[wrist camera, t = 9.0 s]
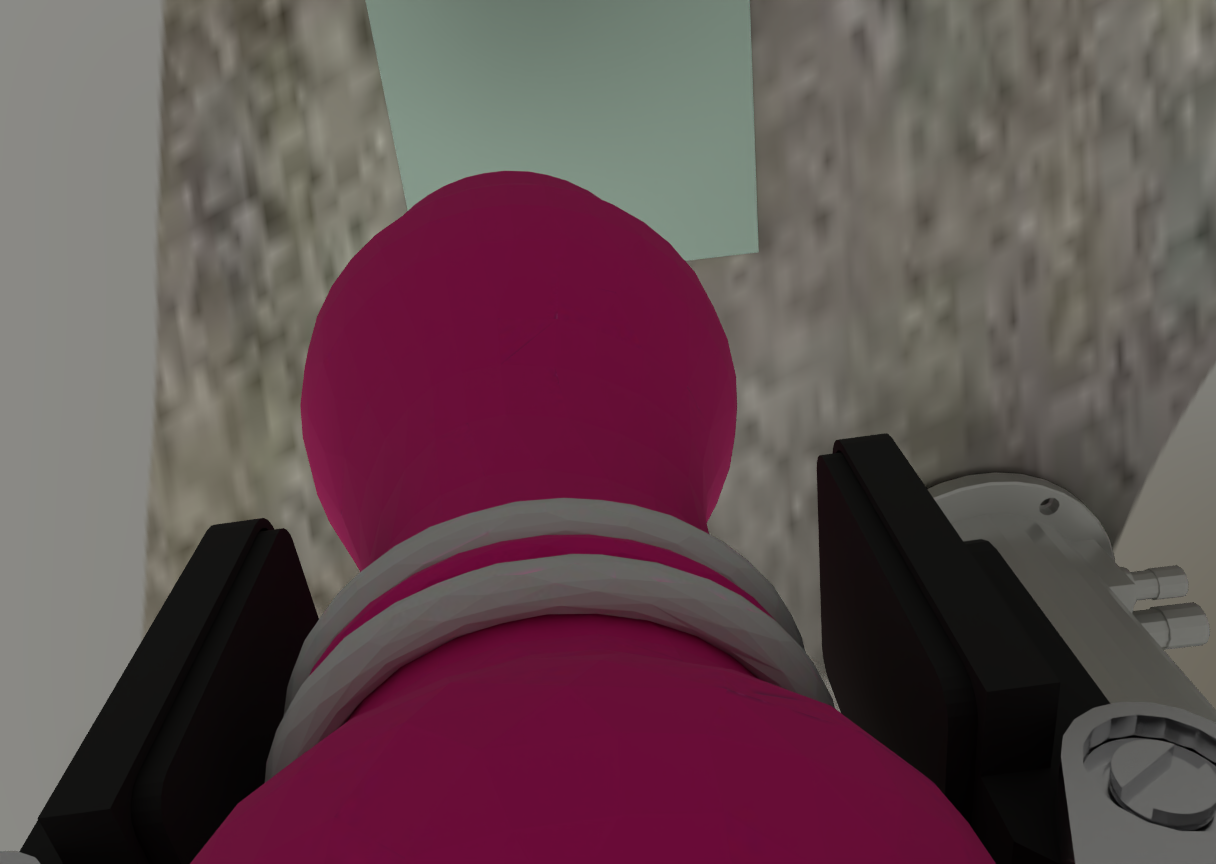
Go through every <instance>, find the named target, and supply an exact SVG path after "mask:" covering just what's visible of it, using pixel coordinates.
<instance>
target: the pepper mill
mask: <svg viewBox="0 0 1216 864" xmlns="http://www.w3.org/2000/svg"><path fill="white" fill-rule="evenodd" d="M736 415H737V392H736V375H735V370H734V366H733V362H732V357H731V353H730V349H729V344H728V340H727V337H726V335H725V332H724V330H723V328H722V325H721V323H720V321H719V318H718V316H717V314H716V311H715V309H714V307H713V305H712V303H711V301H710V299H709V298H708V296H707V294H706V292H705V290H704V288H703V286H702V285H701V283H700V281H699V279H698V277H697V275H696V273H695V272H694V271H693V270H692V269H691V267H690V266H689V265H688V264H687V263H686V262H685V260H684V259H683V258H682V257H681V256H680V255H679V253H678V252H677V251H676V250H675V249H674V248H673V246H672V245H671V244H670V243H669V242H668V241H666V240H665V239H664V238H663V237H662V236H660V235H659V234H658V233H657V232H655V231H654V230H653V229H652V228H651V227H649V226H648V225H647V224H646V223H644V222H643V221H641V220H639V219H638V218H636V217H634V216H632V215H631V214H629V213H627V212H625V211H624V210H622V209H620V208H618V207H617V206H615V205H613V204H611V203H609V202H606V201H604V200H602V199H600V198H599V197H597V196H596V195H594V194H593V193H591V192H590V191H588V190H586V189H584V188H582V187H579V186H577V185H575V184H573V183H571V182H569V181H566V180H563V179H560V178H556V177H553V176H550V175H546V174H540V173H535V172H529V171H498V172H489V173H483V174H478V175H474V176H470V177H465V178H463V179H460V180H458V181H455V182H453V183H450V184H448V185H445V186H443V187H441V188H440V189H438V190H436V191H434V192H432V193H431V194H429V195H427V196H426V197H425V198H423V199H422V200H421V201H419V202H418V203H416V204H415V205H414V206H413V207H412V208H410V209H409V210H408V211H407V212H406V213H405V214H404V215H403V216H402V217H400V218H399V219H398V220H396V221H395V222H393V223H392V224H390V225H389V226H388V227H386V228H385V229H383V230H382V231H380V232H379V233H378V234H376V235H375V236H374V237H373V238H372V239H371V240H370V241H369V242H368V243H367V244H366V245H365V246H364V247H363V248H362V249H361V250H360V251H359V252H358V253H357V254H356V255H355V256H354V257H353V258H352V259H351V260H350V262H349V263H348V265H347V266H346V267H345V269H344V270H343V271H342V273H341V274H340V276H339V277H338V278H337V280H336V281H335V283H334V284H333V285H332V287H331V289H330V291H329V293H328V295H327V298H326V300H325V302H324V304H323V306H322V308H321V310H320V312H319V314H318V316H317V319H316V323H315V327H314V331H313V334H312V338H311V342H310V345H309V349H308V354H307V359H306V364H305V371H304V380H303V388H302V397H301V418H302V432H303V440H304V444H305V448H306V451H307V455H308V459H309V463H310V467H311V471H312V475H313V479H314V483H315V487H316V491H317V495H318V497H319V499H320V501H321V504H322V506H323V508H324V510H325V513H326V515H327V517H328V520H329V522H330V524H331V525H332V527H333V528H334V530H335V532H336V533H337V535H338V536H339V538H340V539H341V541H342V543H343V544H344V546H345V547H346V549H347V550H348V552H349V554H350V555H351V557H352V558H353V560H354V562H355V563H356V565H357V566H358V568H359V570H360V573H359V574H358V575H357V576H356V577H355V578H353V579H352V580H351V581H350V582H349V583H348V584H347V585H346V586H345V587H344V588H343V589H342V590H341V591H340V592H339V593H338V594H337V595H336V597H335V598H334V599H333V601H332V602H331V603H330V605H329V606H328V607H327V609H326V610H325V612H324V613H323V614H322V616H321V617H320V619H319V620H318V622H317V623H316V625H315V626H314V627H313V629H312V630H311V632H310V633H309V635H308V636H307V638H306V639H305V641H304V643H303V646H302V648H301V651H300V653H299V656H298V659H297V661H296V664H295V666H294V669H293V672H292V674H291V678H290V681H289V684H288V687H287V694H286V701H285V709H284V717H283V719H282V721H281V723H280V725H279V726H278V728H277V730H276V734H275V737H274V740H273V743H272V746H271V749H270V752H269V756H268V759H267V762H266V773H265V783H264V784H263V785H261V786H260V787H259V788H258V789H256V790H255V791H254V792H252V793H251V794H250V795H248V796H247V797H246V798H244V799H243V800H242V801H241V802H239V803H238V804H237V805H236V807H235V808H234V809H233V810H232V812H231V813H230V814H229V815H228V817H227V818H226V819H225V820H224V822H223V823H222V824H221V825H220V827H219V828H218V829H217V830H216V832H215V833H214V834H213V835H212V837H211V838H210V839H209V840H208V842H207V843H206V844H205V846H204V847H203V848H202V849H201V851H200V852H199V853H198V854H197V856H196V857H195V858H194V859H193V861H192V862H191V863H190V864H996V863H995V861H994V860H993V859H992V857H991V856H990V854H989V853H988V851H987V850H986V848H985V847H984V845H983V844H982V842H981V841H980V839H979V838H978V836H977V835H976V833H975V832H974V830H973V829H972V827H971V826H970V824H969V823H968V822H967V821H966V819H965V818H964V817H963V816H962V815H961V814H960V812H959V811H958V810H957V809H956V808H955V807H954V805H953V804H952V803H951V802H950V801H949V800H948V799H947V797H946V796H945V795H944V794H943V793H942V792H941V790H940V789H939V788H938V787H937V786H936V785H935V783H934V782H932V781H931V780H930V779H929V778H927V777H926V776H925V775H923V774H922V773H921V772H919V771H918V770H917V769H916V768H914V767H913V766H911V765H910V764H909V763H907V762H906V761H905V760H903V759H902V758H901V757H899V756H898V755H897V754H895V753H894V752H893V751H891V750H890V749H889V748H887V747H886V746H884V745H883V744H882V743H880V742H879V741H878V740H876V739H875V738H874V737H872V736H871V735H870V734H868V733H867V732H866V731H864V730H863V729H862V728H860V727H859V726H858V725H856V724H855V723H853V722H852V721H851V720H849V719H848V718H847V717H845V716H844V715H843V714H841V713H840V712H839V711H837V710H836V709H835V707H834V703H833V699H832V697H831V695H830V693H829V691H828V690H827V688H826V686H825V684H824V682H823V680H822V678H821V676H820V675H819V673H818V671H817V669H816V667H815V665H814V663H813V662H812V661H811V659H810V658H809V656H808V655H807V654H806V652H805V649H804V645H803V641H802V637H801V635H800V633H799V631H798V628H797V626H796V624H795V622H794V620H793V618H792V615H791V614H790V612H789V610H788V609H787V607H786V606H785V604H784V602H783V601H782V599H781V598H780V596H779V595H778V593H777V591H776V590H775V588H774V587H773V585H772V584H771V583H770V582H769V581H768V580H767V579H766V578H765V577H764V576H763V575H762V574H761V573H760V572H759V571H758V570H757V569H756V568H755V567H754V566H753V565H752V564H751V563H750V562H749V561H748V560H747V559H745V558H744V557H743V556H741V555H740V554H739V553H737V552H736V551H735V550H733V549H732V548H731V547H729V546H728V545H727V544H725V543H724V542H723V541H721V540H719V539H717V538H715V537H714V536H712V535H710V534H709V532H708V528H707V521H708V519H709V517H710V516H711V514H712V512H713V510H714V508H715V506H716V504H717V501H718V499H719V496H720V493H721V490H722V488H723V485H724V482H725V479H726V476H727V474H728V471H729V468H730V462H731V456H732V450H733V444H734V438H735V429H736Z"/></svg>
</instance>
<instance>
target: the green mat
mask: <svg viewBox="0 0 1216 864" xmlns="http://www.w3.org/2000/svg"><path fill="white" fill-rule="evenodd" d="M366 5H367V10H368V15H369V20H370V25H371V30H372V35H373V40H374V45H375V50H376V55H377V60H378V65H379V70H380V75H381V80H382V85H383V90H384V95H385V100H386V105H387V110H388V115H389V120H390V124H391V129H392V134H393V139H394V144H395V149H396V154H397V159H398V164H399V169H400V174H401V179H402V184H403V189H404V194H405V199H406V204H407V209H408V210H409V209H410V208H412V207H413V206H414V205H415V204H416V203H418V202H419V201H421V200H422V199H423V198H425V197H426V196H427V195H429V194H431V193H432V192H434V191H436V190H438V189H440V188H441V187H443V186H445V185H448V184H450V183H453V182H455V181H458V180H460V179H463V178H465V177H470V176H474V175H478V174H483V173H489V172H498V171H529V172H535V173H540V174H546V175H550V176H553V177H556V178H560V179H563V180H566V181H569V182H571V183H573V184H575V185H577V186H579V187H582V188H584V189H586V190H588V191H590V192H591V193H593V194H594V195H596V196H597V197H599V198H600V199H602V200H604V201H606V202H609V203H611V204H613V205H615V206H617V207H618V208H620V209H622V210H624V211H625V212H627V213H629V214H631V215H632V216H634V217H636V218H638V219H639V220H641V221H643V222H644V223H646V224H647V225H648V226H649V227H651V228H652V229H653V230H654V231H655V232H657V233H658V234H659V235H660V236H662V237H663V238H664V239H665V240H666V241H668V242H669V243H670V244H671V245H672V246H673V248H674V249H675V250H676V251H677V252H678V253H679V255H680V256H681V257H682V258H683V259H684V260H685V261H687V260H696V259H705V258H713V257H722V256H730V255H739V254H747V253H756V252H759V250H758V221H757V193H756V164H755V136H754V107H753V79H752V50H751V21H750V0H366Z"/></svg>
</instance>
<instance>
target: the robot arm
mask: <svg viewBox="0 0 1216 864" xmlns="http://www.w3.org/2000/svg"><path fill="white" fill-rule="evenodd" d="M817 490H818V524H819V557H820V591H821V625H822V650H823V658H824V663H825V668H826V672H827V676H828V679H829V682H830V684H831V687H832V690H833V692H834V695H835V698H836V700H837V703H838V706H839V708H840V711H841V714H843V715H844V716H845V717H847V718H848V719H849V720H851V721H852V722H853V723H855V724H856V725H858V726H859V727H860V728H862V729H863V730H864V731H866V732H867V733H868V734H870V735H871V736H872V737H874V738H875V739H876V740H878V741H879V742H880V743H882V744H883V745H884V746H886V747H887V748H889V749H890V750H891V751H893V752H894V753H895V754H897V755H898V756H899V757H901V758H902V759H903V760H905V761H906V762H907V763H909V764H910V765H911V766H913V767H914V768H916V769H917V770H918V771H919V772H921V773H922V774H923V775H925V776H926V777H927V778H929V779H930V780H931V781H932V782H934V783H935V785H936V786H937V787H938V788H939V789H940V790H941V792H942V793H943V794H944V795H945V796H946V797H947V799H948V800H949V801H950V802H951V803H952V804H953V805H954V807H955V808H956V809H957V810H958V811H959V812H960V814H961V815H962V816H963V817H964V818H965V819H966V821H967V822H968V823H969V824H970V826H971V827H972V829H973V830H974V832H975V833H976V835H977V836H978V838H979V839H980V841H981V842H982V844H983V845H984V847H985V848H986V850H987V851H988V853H989V854H990V856H991V857H992V859H993V860H994V861H995V863H996V864H1216V710H1215V708H1214V707H1213V706H1212V705H1211V704H1210V703H1209V702H1208V700H1207V699H1206V698H1205V697H1204V696H1203V695H1202V694H1201V692H1200V691H1199V690H1198V689H1197V688H1196V687H1195V685H1194V684H1193V683H1192V682H1191V681H1190V680H1189V679H1188V677H1187V676H1186V675H1185V674H1184V673H1183V672H1182V671H1181V669H1179V667H1178V666H1177V665H1176V664H1175V662H1174V661H1173V660H1172V659H1171V658H1170V657H1169V656H1168V654H1167V653H1166V652H1165V651H1164V650H1163V649H1172V648H1182V647H1191V646H1199V645H1203V644H1205V643H1207V641H1208V639H1209V636H1210V631H1209V623H1208V620H1207V617H1206V614H1205V613H1204V611H1203V610H1202V609H1201V607H1200V606H1199V605H1197V604H1196V603H1194V602H1193V603H1184V604H1175V605H1167V606H1157V607H1151V608H1150V609H1148V610H1140V611H1133V606H1134V605H1135V603H1136V600H1144V599H1153V600H1157V599H1165V598H1174V597H1182V596H1186V594H1187V592H1188V580H1187V577H1186V574H1185V572H1184V571H1183V570H1182V568H1180V567H1179V566H1168V567H1160V568H1151V569H1147V570H1145V571H1137V572H1129V570H1128V569H1126V568H1123V567H1119V566H1118V565H1117V564H1116V563H1115V558H1114V553H1113V550H1112V546H1111V542H1110V539H1109V537H1108V535H1107V533H1106V532H1105V530H1104V528H1103V526H1102V525H1101V523H1100V521H1099V520H1098V519H1097V518H1096V517H1095V516H1094V514H1093V513H1092V512H1091V511H1090V510H1089V509H1088V508H1087V507H1086V506H1085V505H1084V504H1083V503H1082V502H1081V501H1080V500H1079V499H1077V498H1076V497H1075V496H1073V495H1072V494H1071V493H1070V492H1068V491H1067V490H1066V489H1064V488H1062V487H1059V486H1057V485H1055V484H1053V483H1051V482H1049V481H1047V480H1044V479H1040V478H1036V477H1032V476H1028V475H1024V474H1015V473H996V472H994V473H985V474H977V475H968V476H964V477H961V478H957V479H954V480H950V481H946V482H943V483H940V484H938V485H935V486H933V487H931V488H929V489H927V488H926V487H925V485H924V484H923V482H922V481H921V479H920V478H919V477H918V475H917V474H916V472H915V471H914V469H913V468H912V466H911V465H910V464H909V462H908V461H907V459H906V458H905V456H904V455H903V453H902V452H901V451H900V449H899V448H898V446H897V445H896V443H895V442H894V440H893V439H892V437H891V436H890V435H889V434H878V435H870V436H863V437H855V438H848V439H841V440H836V441H835V443H834V447H833V454H827V455H819V457H818V460H817ZM318 620H319V618H318V615H317V612H316V609H315V606H314V603H313V600H312V597H311V594H310V591H309V588H308V585H307V582H306V579H305V576H304V573H303V570H302V567H301V564H300V561H299V558H298V555H297V552H296V549H295V546H294V543H293V540H292V538H291V535H290V534H289V532H288V531H287V530H286V529H284V528H283V529H275V530H274V528H273V526H272V525H271V523H270V522H269V521H268V520H267V519H265V518H261V519H253V520H246V521H239V522H231V523H224V524H217V525H212V526H211V527H210V528H209V529H208V530H207V531H206V533H205V535H204V537H203V538H202V540H201V542H200V543H199V545H198V547H197V548H196V550H195V552H194V554H193V555H192V557H191V559H190V560H189V562H188V564H187V565H186V567H185V569H184V571H183V572H182V574H181V576H180V577H179V579H178V581H177V582H176V584H175V586H174V588H173V589H172V591H171V593H170V594H169V596H168V598H167V599H166V601H165V603H164V605H163V606H162V608H161V610H160V611H159V613H158V615H157V616H156V618H155V620H154V622H153V623H152V625H151V627H150V628H149V630H148V632H147V633H146V635H145V637H144V639H143V640H142V642H141V644H140V645H139V647H138V649H137V651H136V652H135V654H134V656H133V657H132V659H131V661H130V663H129V664H128V666H127V667H126V669H125V671H124V673H123V674H122V676H121V678H120V679H119V681H118V683H117V684H116V686H115V688H114V690H113V692H112V693H111V695H110V696H109V698H108V700H107V702H106V703H105V705H104V707H103V709H102V710H101V712H100V713H99V715H98V717H97V718H96V720H95V722H94V724H93V725H92V727H91V729H90V730H89V732H88V734H87V735H86V737H85V739H84V741H83V742H82V744H81V746H80V748H79V749H78V751H77V752H76V754H75V756H74V758H73V760H72V761H71V763H70V764H69V766H68V768H67V769H66V771H65V773H64V775H63V776H62V778H61V780H60V781H59V783H58V785H57V786H56V788H55V790H54V792H53V793H52V795H51V797H50V798H49V800H48V802H47V803H46V805H45V807H44V809H43V810H42V812H41V814H40V815H39V817H38V821H37V823H36V825H35V826H34V828H33V829H32V831H31V833H30V835H29V836H28V838H27V840H26V841H25V843H24V845H23V847H22V848H21V850H20V852H18V851H2V852H0V864H190V863H191V862H192V861H193V859H194V858H195V857H196V856H197V854H198V853H199V852H200V851H201V849H202V848H203V847H204V846H205V844H206V843H207V842H208V840H209V839H210V838H211V837H212V835H213V834H214V833H215V832H216V830H217V829H218V828H219V827H220V825H221V824H222V823H223V822H224V820H225V819H226V818H227V817H228V815H229V814H230V813H231V812H232V810H233V809H234V808H235V807H236V805H237V804H238V803H239V802H241V801H242V800H243V799H244V798H246V797H247V796H248V795H250V794H251V793H252V792H254V791H255V790H256V789H258V788H259V787H260V786H261V785H263V784H264V783H265V773H266V762H267V759H268V756H269V752H270V749H271V746H272V743H273V740H274V737H275V734H276V730H277V728H278V726H279V725H280V723H281V721H282V719H283V717H284V709H285V701H286V694H287V687H288V684H289V681H290V678H291V674H292V672H293V669H294V666H295V664H296V661H297V659H298V656H299V653H300V651H301V648H302V646H303V643H304V641H305V639H306V638H307V636H308V635H309V633H310V632H311V630H312V629H313V627H314V626H315V625H316V623H317V622H318Z"/></svg>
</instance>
